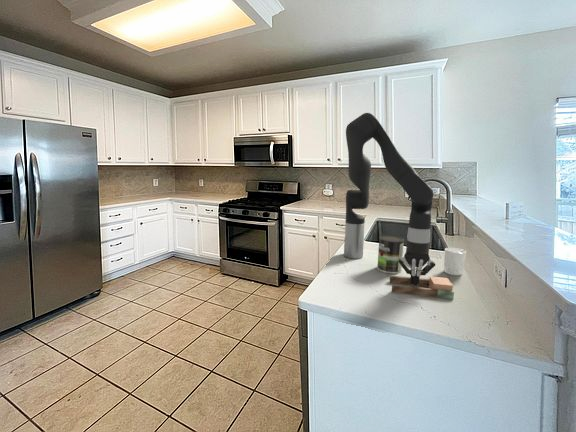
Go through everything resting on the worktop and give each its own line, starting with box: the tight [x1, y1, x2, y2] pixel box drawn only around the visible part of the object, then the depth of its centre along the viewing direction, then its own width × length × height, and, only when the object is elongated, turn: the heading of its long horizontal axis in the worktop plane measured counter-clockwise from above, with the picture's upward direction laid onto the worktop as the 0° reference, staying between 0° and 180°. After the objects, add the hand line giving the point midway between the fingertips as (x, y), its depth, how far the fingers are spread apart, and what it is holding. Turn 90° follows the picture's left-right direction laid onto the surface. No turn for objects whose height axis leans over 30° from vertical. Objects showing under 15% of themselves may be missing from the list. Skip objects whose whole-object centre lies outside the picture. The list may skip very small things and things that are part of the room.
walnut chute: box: [389, 275, 455, 300], centre depth 106 cm, size 20×10×2 cm, turn 75°
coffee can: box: [376, 235, 405, 275], centre depth 125 cm, size 10×10×14 cm
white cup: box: [443, 247, 467, 276], centre depth 122 cm, size 8×8×10 cm
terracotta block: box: [428, 275, 454, 291], centre depth 104 cm, size 6×7×4 cm
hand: (414, 284), depth 106 cm, fingers closed
